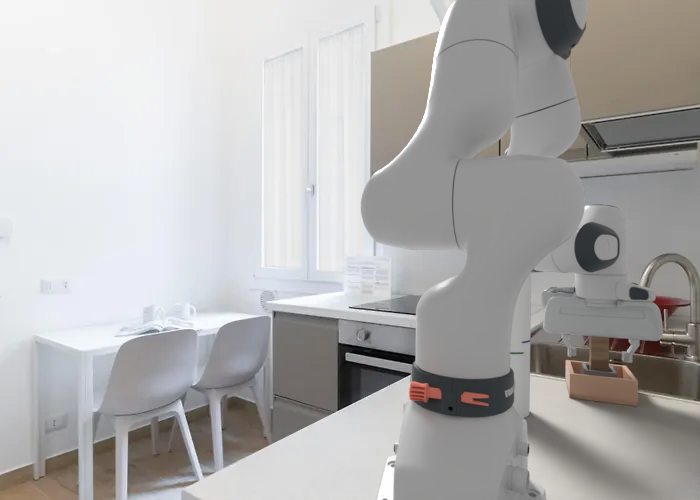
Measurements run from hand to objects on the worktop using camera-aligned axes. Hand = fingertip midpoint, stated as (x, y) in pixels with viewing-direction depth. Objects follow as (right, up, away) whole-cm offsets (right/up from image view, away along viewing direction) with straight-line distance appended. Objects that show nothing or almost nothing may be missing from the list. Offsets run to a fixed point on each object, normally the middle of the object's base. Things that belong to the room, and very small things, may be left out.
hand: (598, 359), depth 86 cm
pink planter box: (0, -7, 0) cm, 7 cm away
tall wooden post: (0, -6, 0) cm, 6 cm away
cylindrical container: (-21, -7, -9) cm, 24 cm away
